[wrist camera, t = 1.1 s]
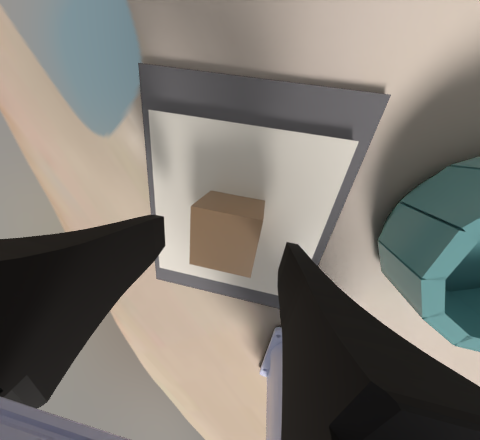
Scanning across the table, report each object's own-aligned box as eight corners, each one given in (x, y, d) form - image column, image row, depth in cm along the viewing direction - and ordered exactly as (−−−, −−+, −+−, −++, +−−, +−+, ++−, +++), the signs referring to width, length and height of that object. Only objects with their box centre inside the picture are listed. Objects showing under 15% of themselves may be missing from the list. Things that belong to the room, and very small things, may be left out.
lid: (294, 292, 16) (302, 340, 12) (164, 262, 17) (133, 296, 13) (352, 141, 11) (400, 140, 7) (155, 111, 12) (98, 95, 8)
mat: (296, 308, 17) (297, 313, 17) (159, 275, 19) (156, 278, 18) (385, 97, 10) (390, 94, 9) (143, 66, 11) (138, 63, 11)
